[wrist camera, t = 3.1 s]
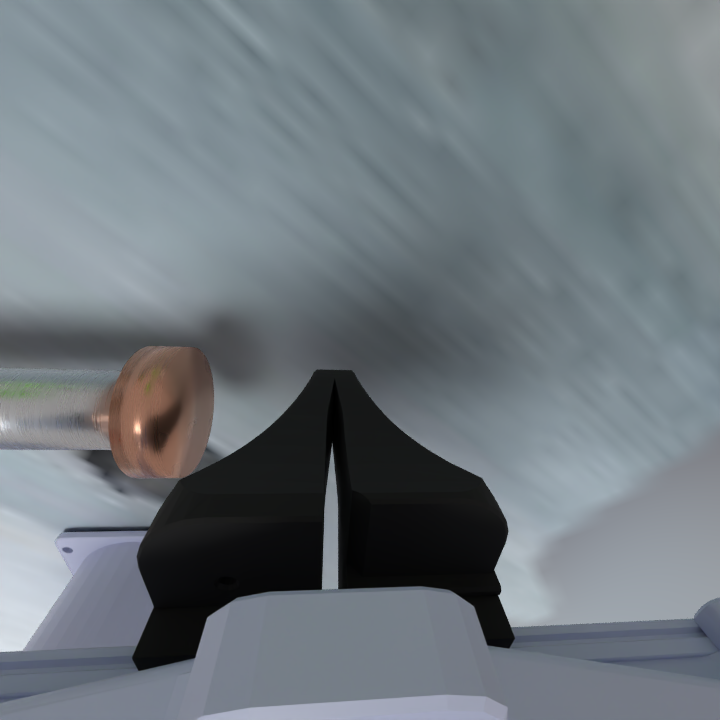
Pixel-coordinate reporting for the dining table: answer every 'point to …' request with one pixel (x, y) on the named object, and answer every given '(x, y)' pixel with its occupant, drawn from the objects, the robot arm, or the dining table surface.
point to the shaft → (116, 411)
